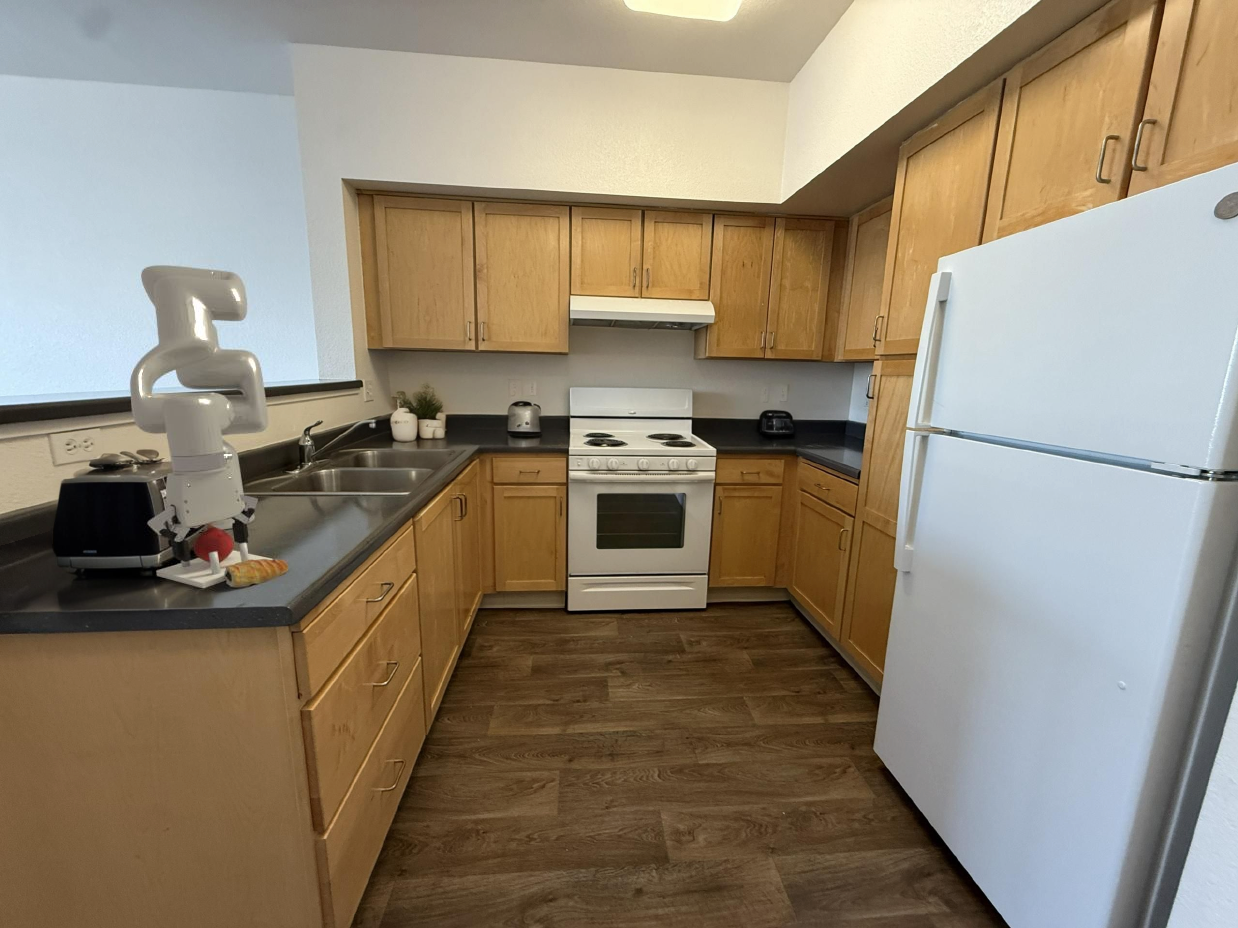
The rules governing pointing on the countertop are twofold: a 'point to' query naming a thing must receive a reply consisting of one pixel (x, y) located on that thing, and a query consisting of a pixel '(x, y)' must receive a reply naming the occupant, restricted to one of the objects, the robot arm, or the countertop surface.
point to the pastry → (254, 572)
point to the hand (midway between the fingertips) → (214, 551)
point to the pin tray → (206, 568)
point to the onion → (213, 544)
